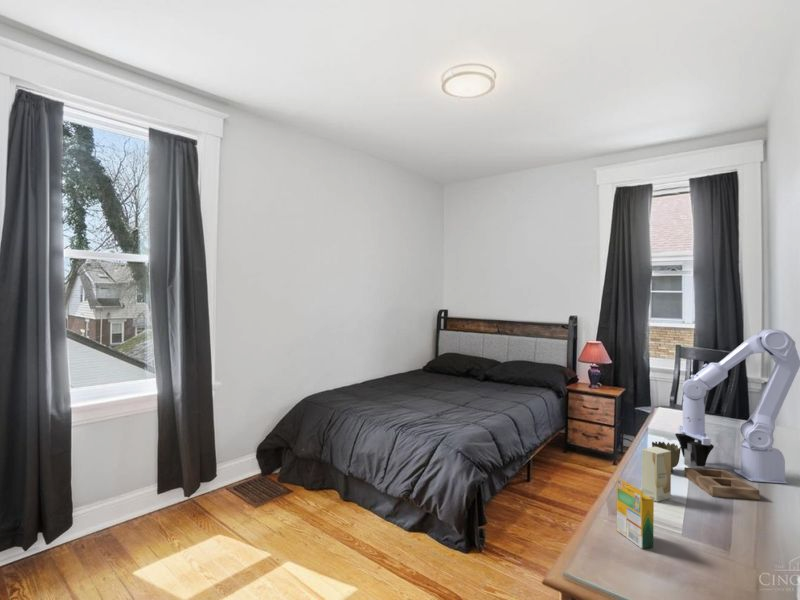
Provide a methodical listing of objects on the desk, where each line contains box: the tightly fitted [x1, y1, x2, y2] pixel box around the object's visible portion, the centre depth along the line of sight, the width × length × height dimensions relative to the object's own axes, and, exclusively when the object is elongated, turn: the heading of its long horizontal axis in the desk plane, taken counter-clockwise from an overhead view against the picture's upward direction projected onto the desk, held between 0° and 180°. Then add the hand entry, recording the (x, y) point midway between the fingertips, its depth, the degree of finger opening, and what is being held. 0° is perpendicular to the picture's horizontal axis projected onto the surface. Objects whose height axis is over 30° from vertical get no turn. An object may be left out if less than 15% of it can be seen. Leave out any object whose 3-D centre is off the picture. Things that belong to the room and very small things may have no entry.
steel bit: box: [683, 443, 704, 469], centre depth 131 cm, size 4×4×7 cm
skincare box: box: [640, 446, 672, 502], centre depth 109 cm, size 6×4×12 cm
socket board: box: [683, 466, 760, 501], centre depth 115 cm, size 11×14×2 cm
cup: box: [651, 441, 682, 473], centre depth 127 cm, size 8×7×8 cm
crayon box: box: [616, 477, 655, 550], centre depth 88 cm, size 7×3×12 cm, turn 12°
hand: (693, 461), depth 131 cm, fingers open, 7 cm apart
